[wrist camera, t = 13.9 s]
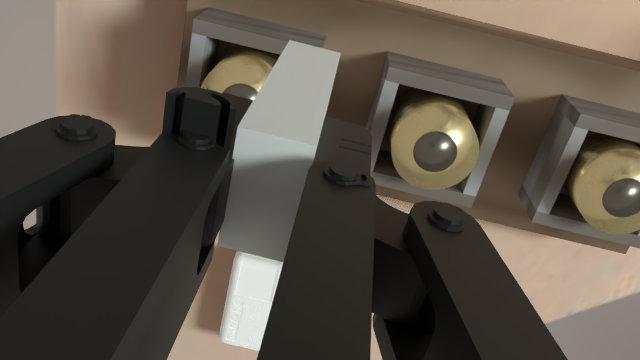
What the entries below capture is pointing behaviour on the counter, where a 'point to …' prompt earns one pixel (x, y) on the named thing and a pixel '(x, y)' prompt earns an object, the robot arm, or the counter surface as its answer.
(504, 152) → the mount
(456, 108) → the knob middle
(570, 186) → the knob
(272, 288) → the soap
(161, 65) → the counter surface
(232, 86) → the knob
